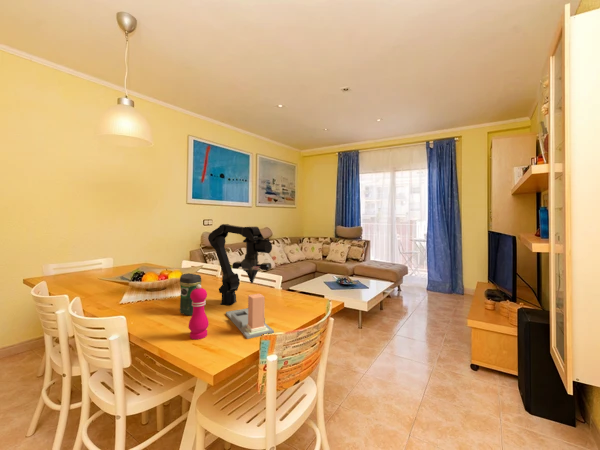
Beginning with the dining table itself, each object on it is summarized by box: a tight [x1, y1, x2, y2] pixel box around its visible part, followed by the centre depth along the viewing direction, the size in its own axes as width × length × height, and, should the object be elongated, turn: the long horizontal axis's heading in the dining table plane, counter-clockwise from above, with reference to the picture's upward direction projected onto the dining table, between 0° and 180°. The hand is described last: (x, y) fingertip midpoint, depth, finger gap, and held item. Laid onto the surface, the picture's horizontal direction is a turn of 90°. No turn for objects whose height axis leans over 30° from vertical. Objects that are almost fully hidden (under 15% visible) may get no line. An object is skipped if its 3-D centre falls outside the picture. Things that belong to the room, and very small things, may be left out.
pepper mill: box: [188, 284, 210, 340], centre depth 104 cm, size 7×7×20 cm
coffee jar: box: [179, 273, 202, 316], centre depth 129 cm, size 10×8×19 cm
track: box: [225, 307, 275, 340], centre depth 118 cm, size 30×11×3 cm, turn 30°
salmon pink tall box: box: [246, 293, 266, 332], centre depth 109 cm, size 6×6×13 cm
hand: (251, 282), depth 135 cm, fingers closed
